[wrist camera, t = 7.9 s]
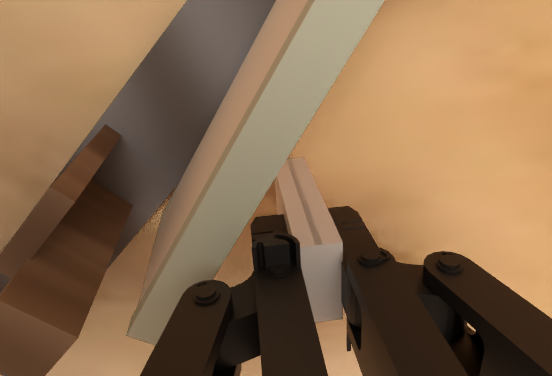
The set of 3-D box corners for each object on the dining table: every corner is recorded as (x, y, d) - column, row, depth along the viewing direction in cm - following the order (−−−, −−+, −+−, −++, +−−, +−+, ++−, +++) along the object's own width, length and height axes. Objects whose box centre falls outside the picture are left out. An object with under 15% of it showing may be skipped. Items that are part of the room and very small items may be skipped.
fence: (498, -421, 13) (949, -1094, 5) (567, -284, 15) (996, -626, 7) (-62, 339, 22) (-222, 535, 14) (17, 372, 24) (-86, 565, 16)
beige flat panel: (318, -87, 15) (400, -153, 8) (349, -64, 16) (452, -109, 9) (160, 213, 20) (126, 335, 13) (187, 225, 20) (169, 349, 13)
